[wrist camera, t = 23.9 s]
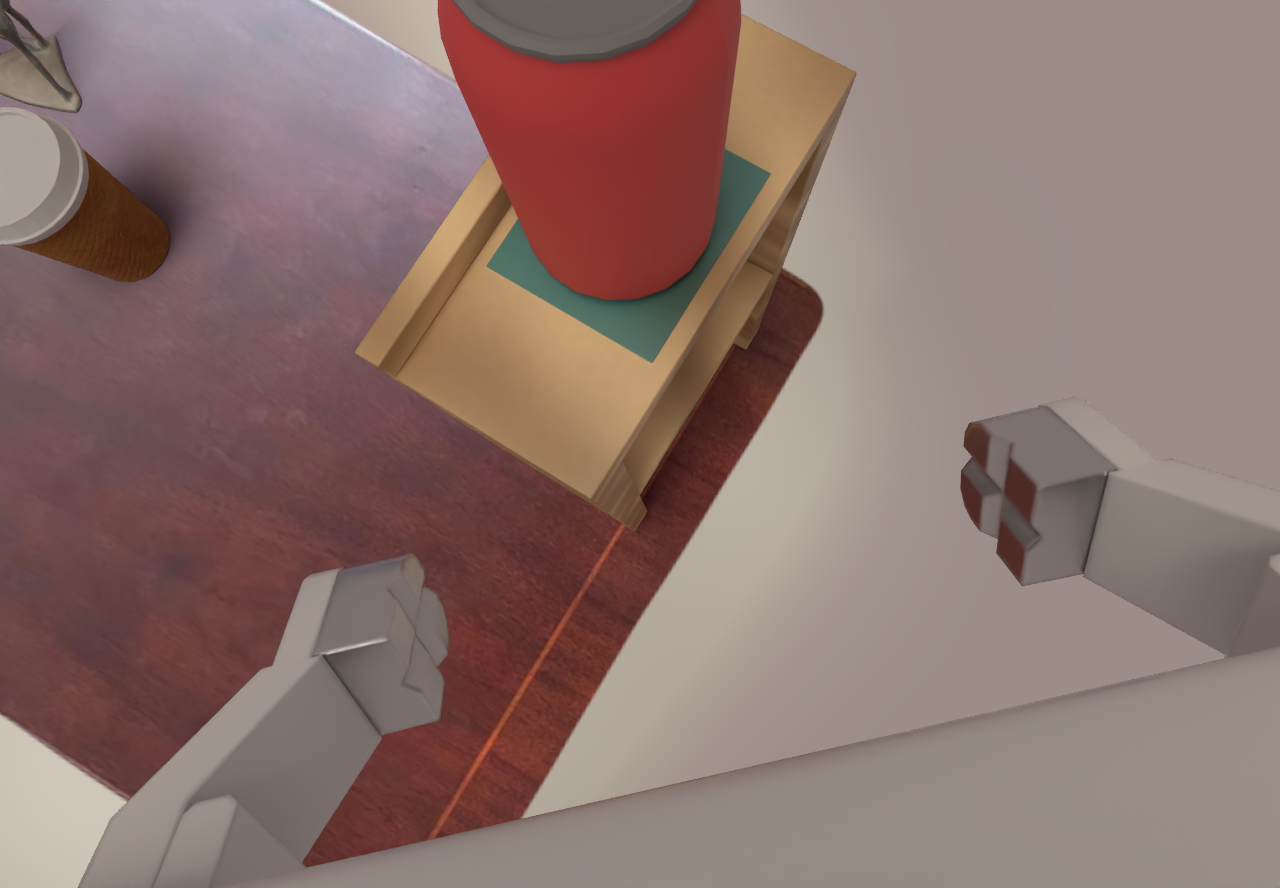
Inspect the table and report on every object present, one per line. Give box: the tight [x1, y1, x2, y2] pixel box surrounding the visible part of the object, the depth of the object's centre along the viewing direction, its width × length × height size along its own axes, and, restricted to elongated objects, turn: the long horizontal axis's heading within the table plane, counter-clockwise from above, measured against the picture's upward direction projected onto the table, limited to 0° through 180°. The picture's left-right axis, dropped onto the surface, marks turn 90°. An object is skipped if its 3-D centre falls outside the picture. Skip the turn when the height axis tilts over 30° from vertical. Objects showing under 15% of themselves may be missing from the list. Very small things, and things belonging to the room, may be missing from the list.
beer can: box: [438, 0, 741, 300], centre depth 19 cm, size 7×7×12 cm
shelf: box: [355, 14, 856, 531], centre depth 39 cm, size 18×9×32 cm, turn 148°
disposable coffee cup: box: [0, 107, 169, 282], centre depth 53 cm, size 10×10×12 cm
